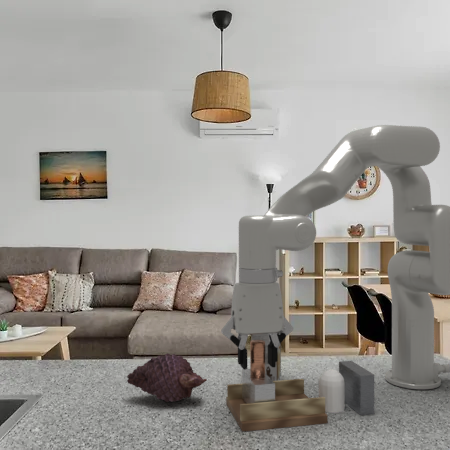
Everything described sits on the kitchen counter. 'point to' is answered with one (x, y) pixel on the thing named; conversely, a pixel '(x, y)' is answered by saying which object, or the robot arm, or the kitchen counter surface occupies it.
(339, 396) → the capsule
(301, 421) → the base
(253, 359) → the ram
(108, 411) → the kitchen counter surface
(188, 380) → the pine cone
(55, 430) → the kitchen counter surface
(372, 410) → the gray rectangular block
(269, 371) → the coffee box
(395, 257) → the robot arm
